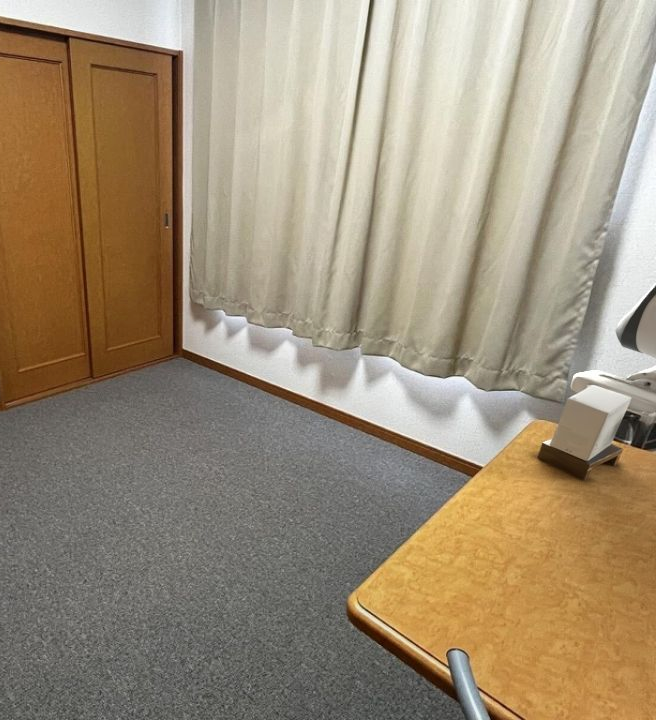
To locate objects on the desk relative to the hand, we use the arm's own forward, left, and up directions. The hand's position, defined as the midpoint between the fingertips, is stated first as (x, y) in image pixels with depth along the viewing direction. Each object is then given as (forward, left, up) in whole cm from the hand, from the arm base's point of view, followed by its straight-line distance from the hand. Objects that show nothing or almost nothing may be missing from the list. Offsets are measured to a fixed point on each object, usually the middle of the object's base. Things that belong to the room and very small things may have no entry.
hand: (613, 407), depth 90 cm
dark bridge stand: (0, +7, -10) cm, 13 cm away
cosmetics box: (0, +7, -7) cm, 10 cm away
